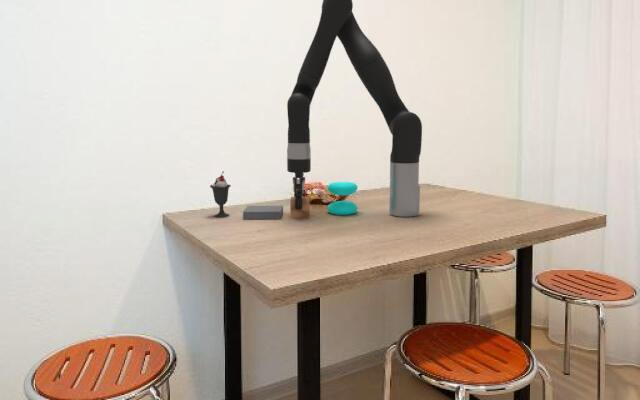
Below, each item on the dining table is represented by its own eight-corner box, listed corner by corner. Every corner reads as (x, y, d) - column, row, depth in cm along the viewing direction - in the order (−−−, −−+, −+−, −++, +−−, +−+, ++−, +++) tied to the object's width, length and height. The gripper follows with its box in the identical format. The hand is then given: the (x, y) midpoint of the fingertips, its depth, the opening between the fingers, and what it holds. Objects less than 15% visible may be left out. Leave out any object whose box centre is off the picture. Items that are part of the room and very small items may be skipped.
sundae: (227, 218, 157) (225, 172, 154) (208, 217, 158) (205, 171, 155) (235, 213, 163) (233, 169, 160) (216, 213, 164) (214, 169, 162)
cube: (309, 214, 162) (309, 196, 160) (309, 218, 156) (309, 199, 155) (291, 214, 161) (291, 196, 160) (290, 218, 156) (290, 200, 155)
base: (283, 214, 164) (283, 205, 163) (280, 220, 154) (280, 211, 154) (247, 214, 164) (247, 205, 163) (243, 221, 154) (242, 212, 154)
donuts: (336, 186, 155) (322, 182, 164) (336, 216, 157) (322, 211, 166) (363, 184, 159) (348, 180, 168) (362, 213, 161) (348, 208, 170)
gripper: (310, 159, 148) (310, 211, 151) (310, 155, 162) (310, 202, 165) (285, 159, 148) (286, 211, 151) (288, 155, 162) (288, 202, 165)
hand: (299, 206), depth 158 cm, fingers open, 8 cm apart
